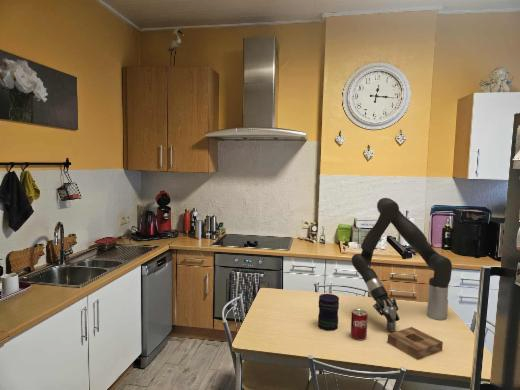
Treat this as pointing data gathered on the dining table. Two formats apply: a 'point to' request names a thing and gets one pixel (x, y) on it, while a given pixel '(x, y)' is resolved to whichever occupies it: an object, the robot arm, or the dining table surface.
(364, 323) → the soda can
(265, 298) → the dining table surface
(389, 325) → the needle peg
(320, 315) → the storage jar
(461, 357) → the dining table surface
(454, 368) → the dining table surface
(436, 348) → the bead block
